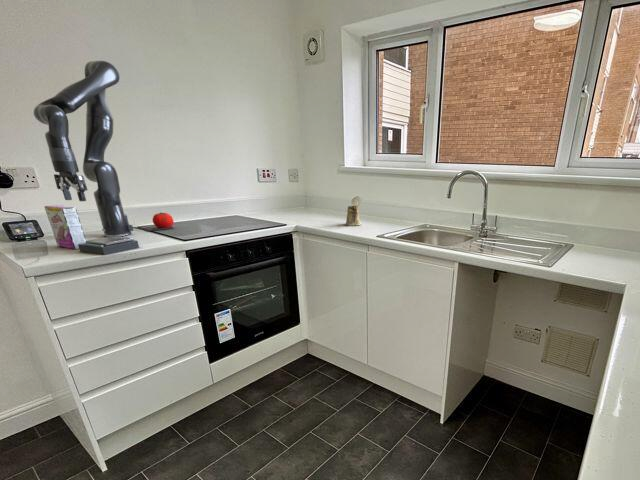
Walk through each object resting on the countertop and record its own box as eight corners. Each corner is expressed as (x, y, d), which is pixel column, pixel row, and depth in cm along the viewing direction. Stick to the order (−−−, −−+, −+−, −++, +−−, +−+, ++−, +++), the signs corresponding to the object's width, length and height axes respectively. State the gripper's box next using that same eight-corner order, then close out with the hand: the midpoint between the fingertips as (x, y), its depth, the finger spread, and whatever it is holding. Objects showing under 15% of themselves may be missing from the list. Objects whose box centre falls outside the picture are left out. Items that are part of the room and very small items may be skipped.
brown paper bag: (350, 227, 209) (350, 196, 202) (343, 224, 220) (343, 194, 213) (364, 226, 212) (364, 196, 206) (357, 223, 224) (356, 194, 217)
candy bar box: (56, 246, 143) (43, 205, 137) (70, 244, 148) (58, 204, 142) (74, 249, 140) (61, 207, 134) (88, 247, 144) (76, 206, 139)
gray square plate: (114, 237, 148) (113, 235, 148) (133, 240, 145) (133, 238, 145) (86, 242, 138) (85, 240, 138) (106, 245, 135) (105, 243, 135)
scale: (116, 244, 150) (114, 237, 149) (139, 247, 147) (137, 239, 146) (80, 251, 138) (77, 243, 136) (104, 255, 134) (102, 246, 133)
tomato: (163, 226, 192) (159, 210, 189) (180, 227, 191) (177, 211, 188) (149, 229, 184) (145, 213, 180) (167, 230, 182) (163, 214, 179)
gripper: (86, 160, 145) (97, 201, 151) (62, 159, 149) (73, 199, 155) (65, 160, 138) (77, 202, 144) (40, 159, 142) (53, 200, 148)
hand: (75, 200), depth 149 cm, fingers open, 8 cm apart
